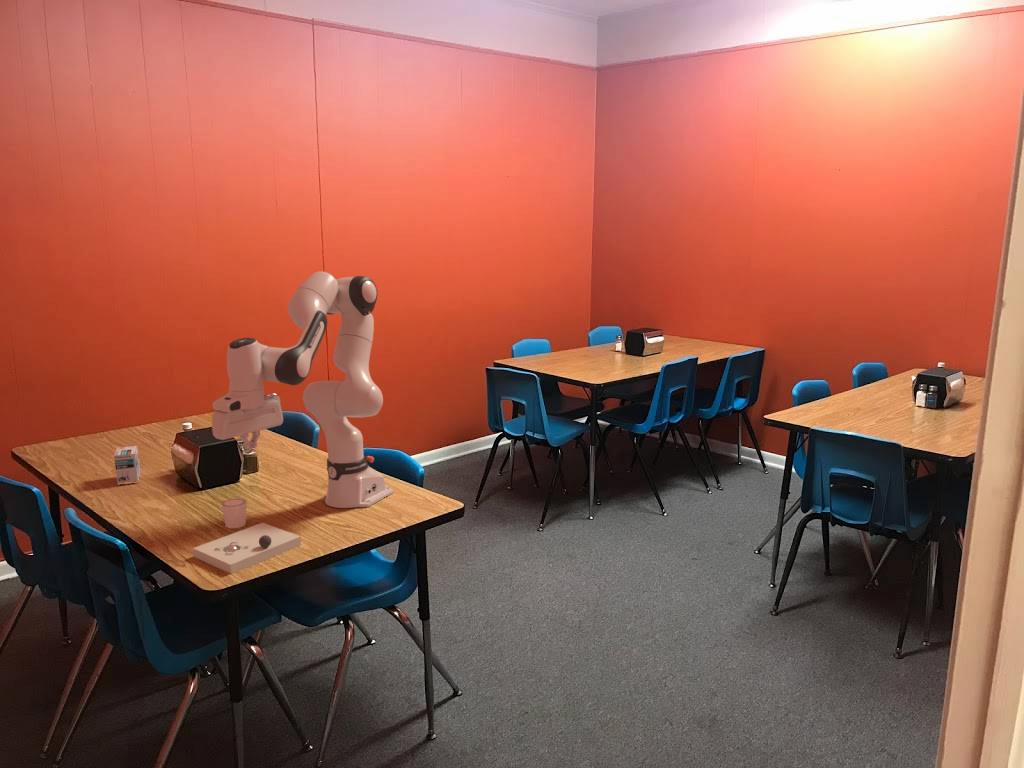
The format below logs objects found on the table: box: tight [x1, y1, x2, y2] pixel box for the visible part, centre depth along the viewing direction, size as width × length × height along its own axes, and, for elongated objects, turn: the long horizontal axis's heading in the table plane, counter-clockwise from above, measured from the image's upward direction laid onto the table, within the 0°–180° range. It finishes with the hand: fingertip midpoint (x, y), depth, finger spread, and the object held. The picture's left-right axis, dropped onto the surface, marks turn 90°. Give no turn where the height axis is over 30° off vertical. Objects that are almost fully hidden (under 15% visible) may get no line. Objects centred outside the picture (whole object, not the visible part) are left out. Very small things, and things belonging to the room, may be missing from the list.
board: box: [192, 522, 302, 575], centre depth 211 cm, size 22×17×2 cm
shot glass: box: [221, 498, 247, 529], centre depth 229 cm, size 7×7×7 cm
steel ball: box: [226, 545, 239, 552], centre depth 207 cm, size 3×3×3 cm
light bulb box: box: [113, 445, 141, 483], centre depth 268 cm, size 11×7×11 cm, turn 22°
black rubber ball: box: [259, 535, 271, 547], centre depth 207 cm, size 3×3×3 cm
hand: (250, 447), depth 212 cm, fingers closed
